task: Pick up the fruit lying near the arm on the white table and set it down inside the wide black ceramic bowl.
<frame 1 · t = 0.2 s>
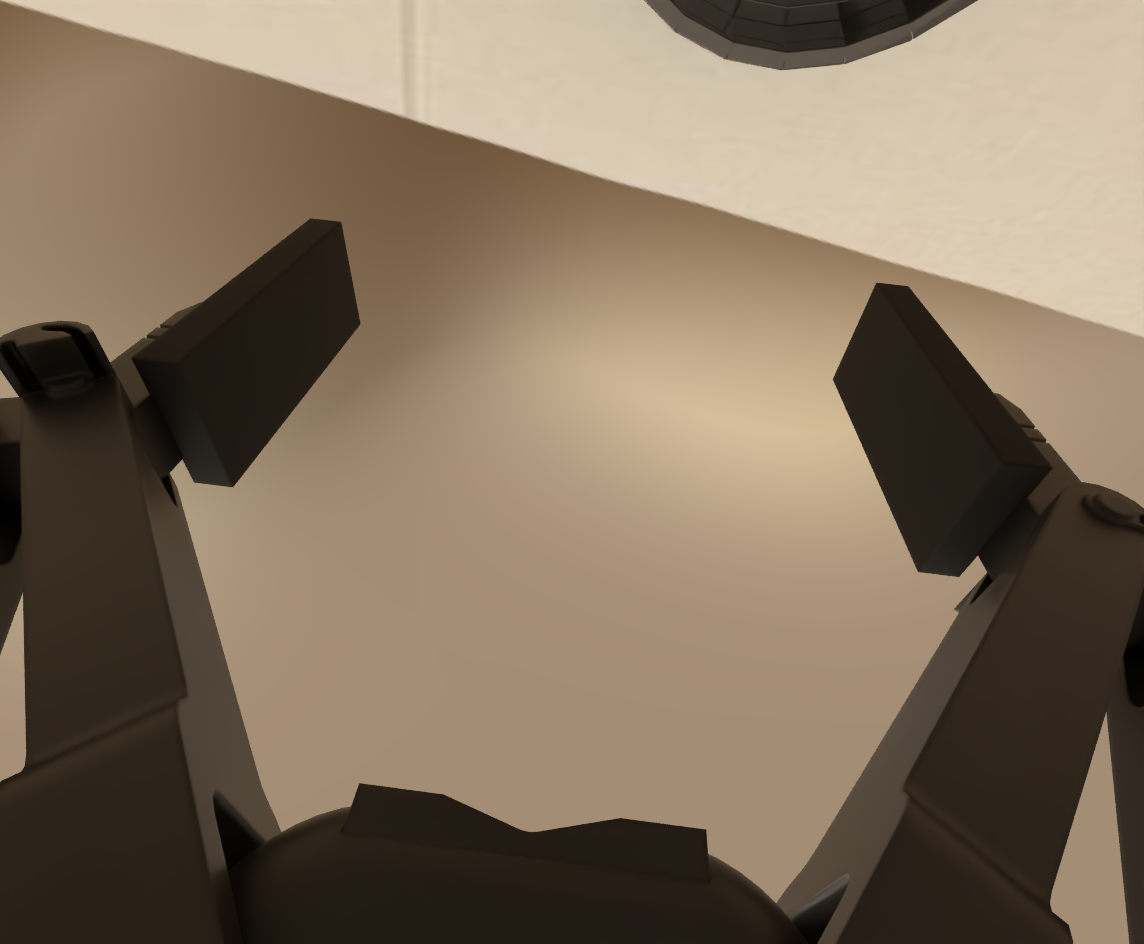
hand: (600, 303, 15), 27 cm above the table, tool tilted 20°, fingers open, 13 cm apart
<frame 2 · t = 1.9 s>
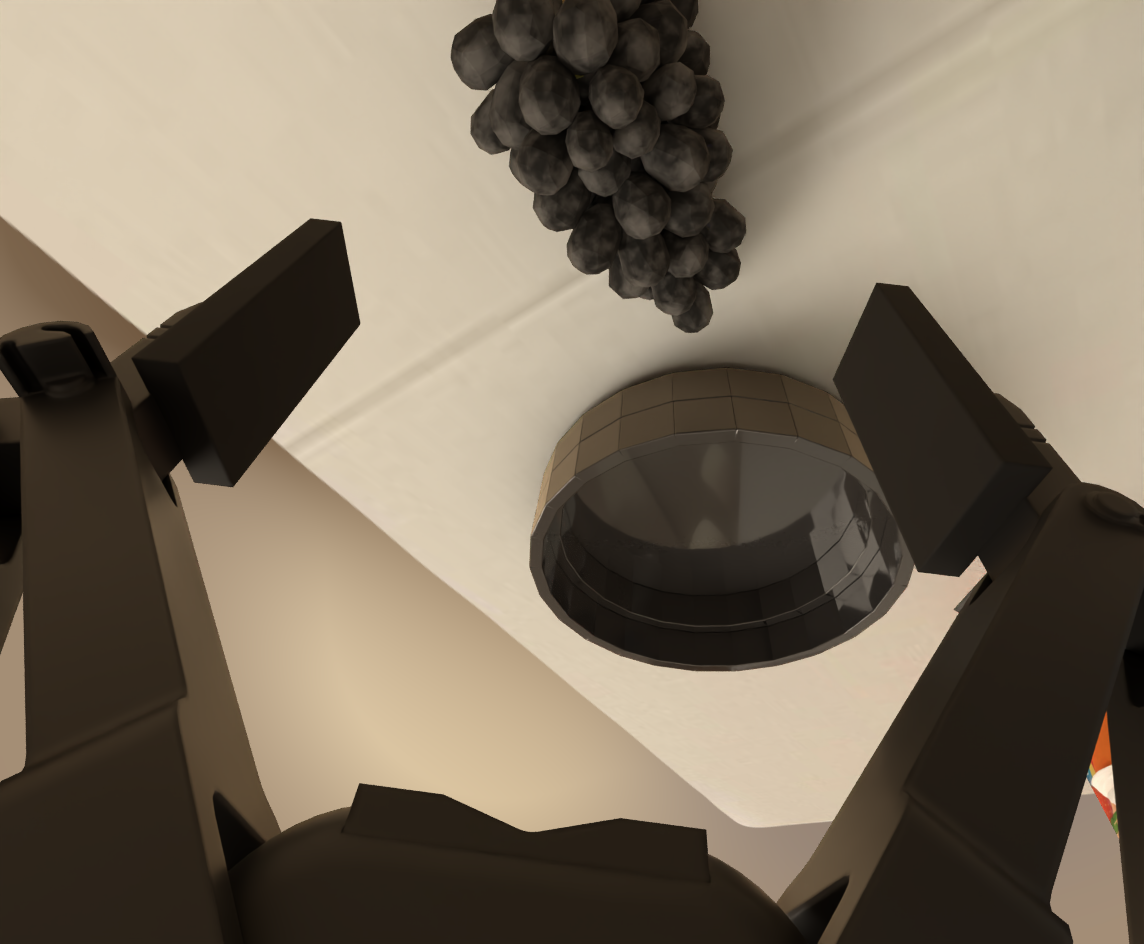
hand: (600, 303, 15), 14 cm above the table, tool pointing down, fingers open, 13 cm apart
bowl: (704, 504, 38), on the table
fruit: (627, 157, 25), on the table
paper cup: (1055, 578, 40), on the table
fruit juice: (1120, 708, 49), on the table
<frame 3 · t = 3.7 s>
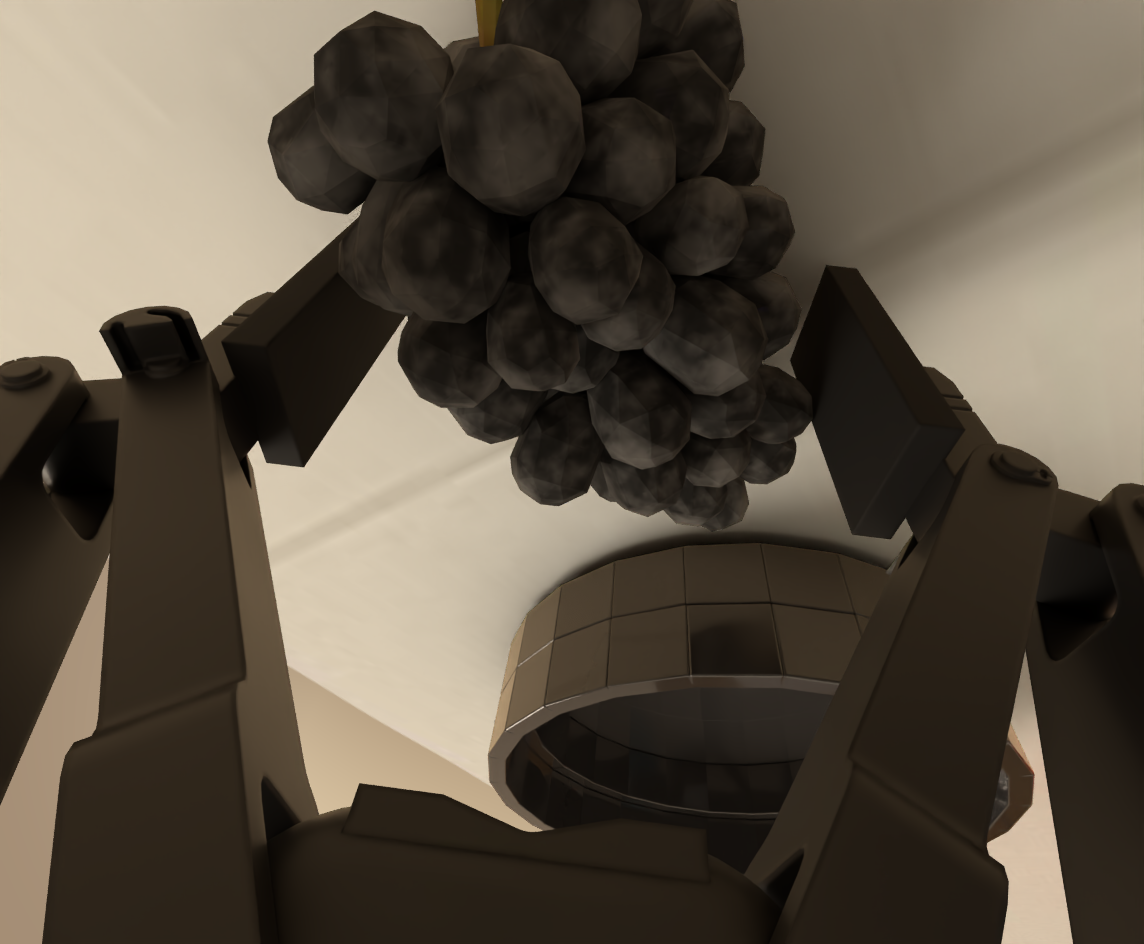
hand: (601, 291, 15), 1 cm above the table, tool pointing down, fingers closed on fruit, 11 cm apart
bowl: (723, 676, 29), on the table
fruit: (618, 274, 16), on the table, touching gripper
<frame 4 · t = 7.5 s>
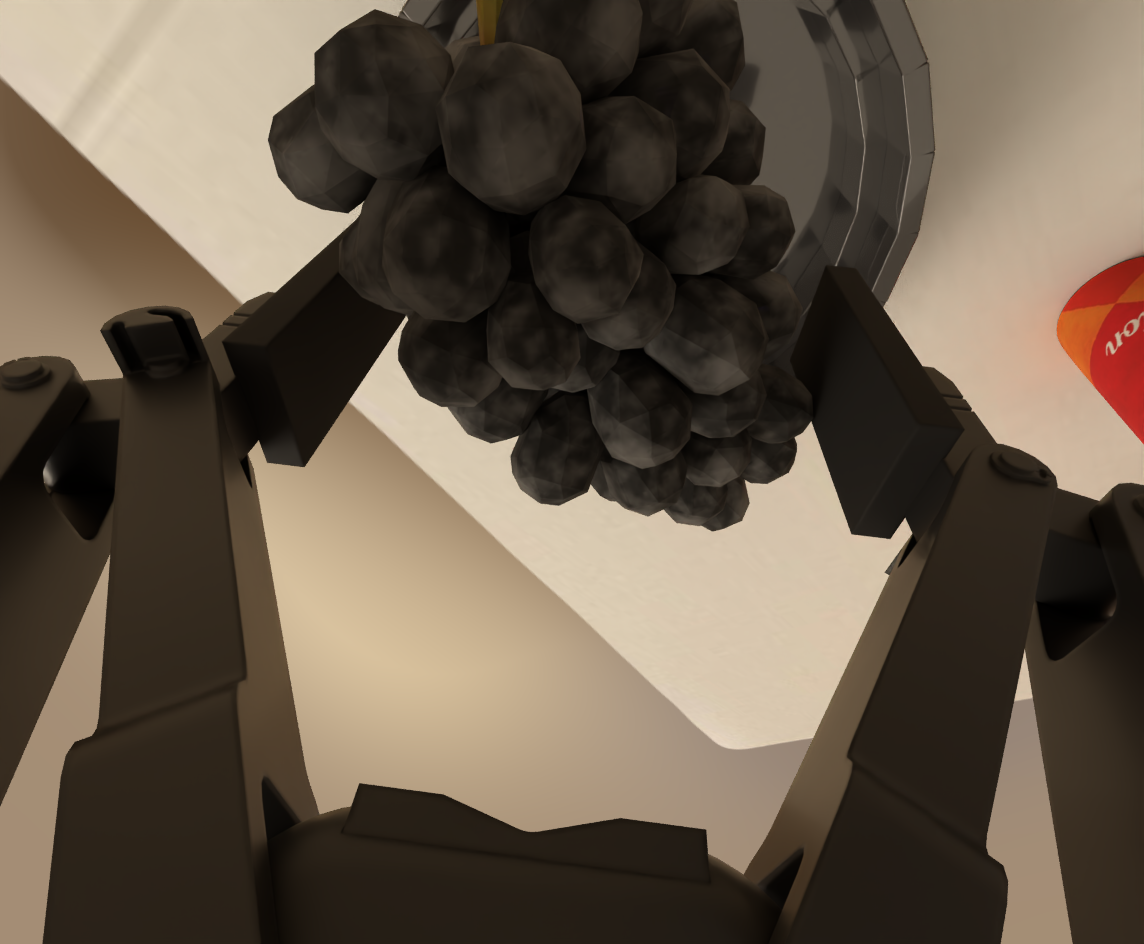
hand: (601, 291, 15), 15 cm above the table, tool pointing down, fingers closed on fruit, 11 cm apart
bowl: (635, 194, 28), on the table
fruit: (619, 273, 16), point 14 cm above the table, touching gripper
paper cup: (1117, 307, 29), on the table
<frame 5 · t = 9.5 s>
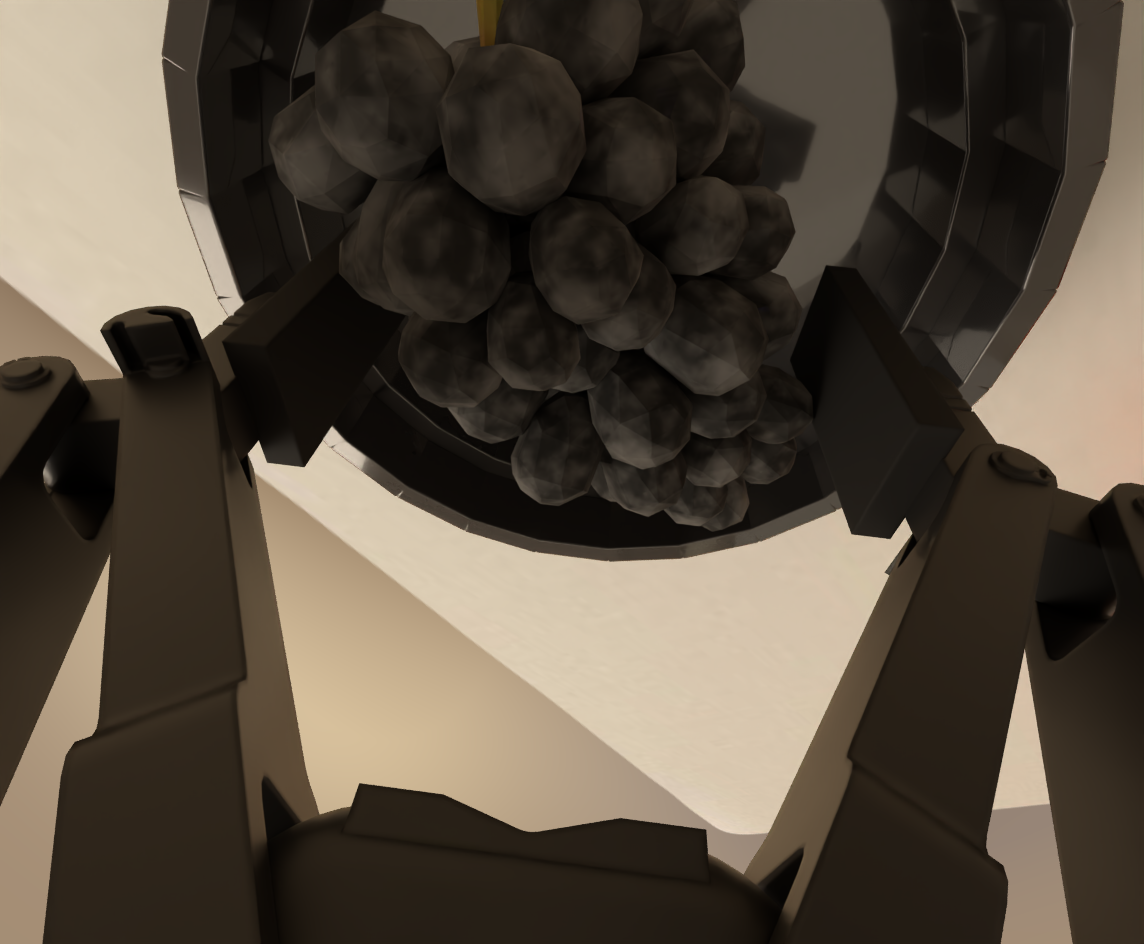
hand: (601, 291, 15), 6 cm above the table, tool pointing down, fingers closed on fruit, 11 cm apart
bowl: (613, 216, 19), on the table
fruit: (619, 274, 16), point 5 cm above the table, touching gripper
when the fingers open (2 cm above the table, at t = 11.2 s): fruit stays where it is, resting on bowl.
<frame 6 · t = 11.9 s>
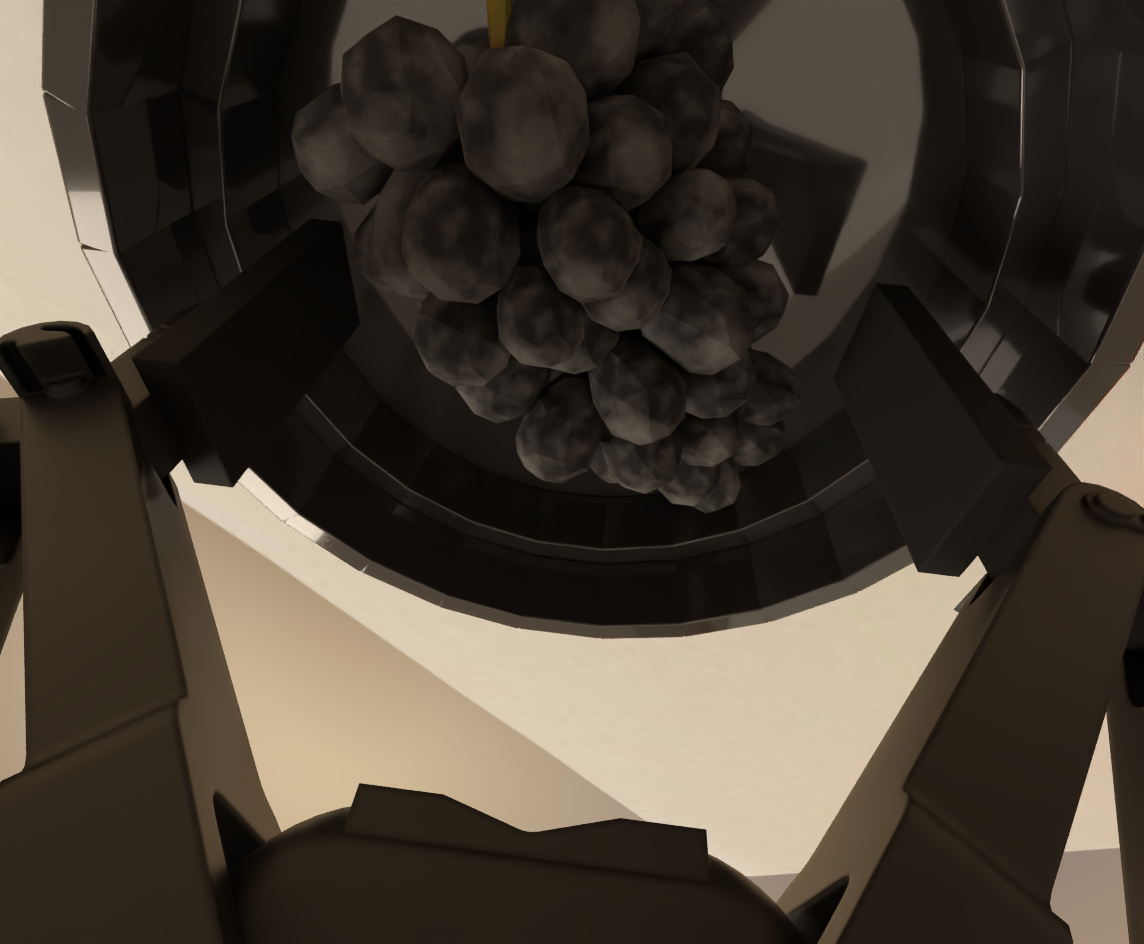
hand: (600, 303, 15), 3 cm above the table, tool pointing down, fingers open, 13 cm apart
bowl: (603, 258, 17), on the table
fruit: (615, 266, 17), resting on bowl
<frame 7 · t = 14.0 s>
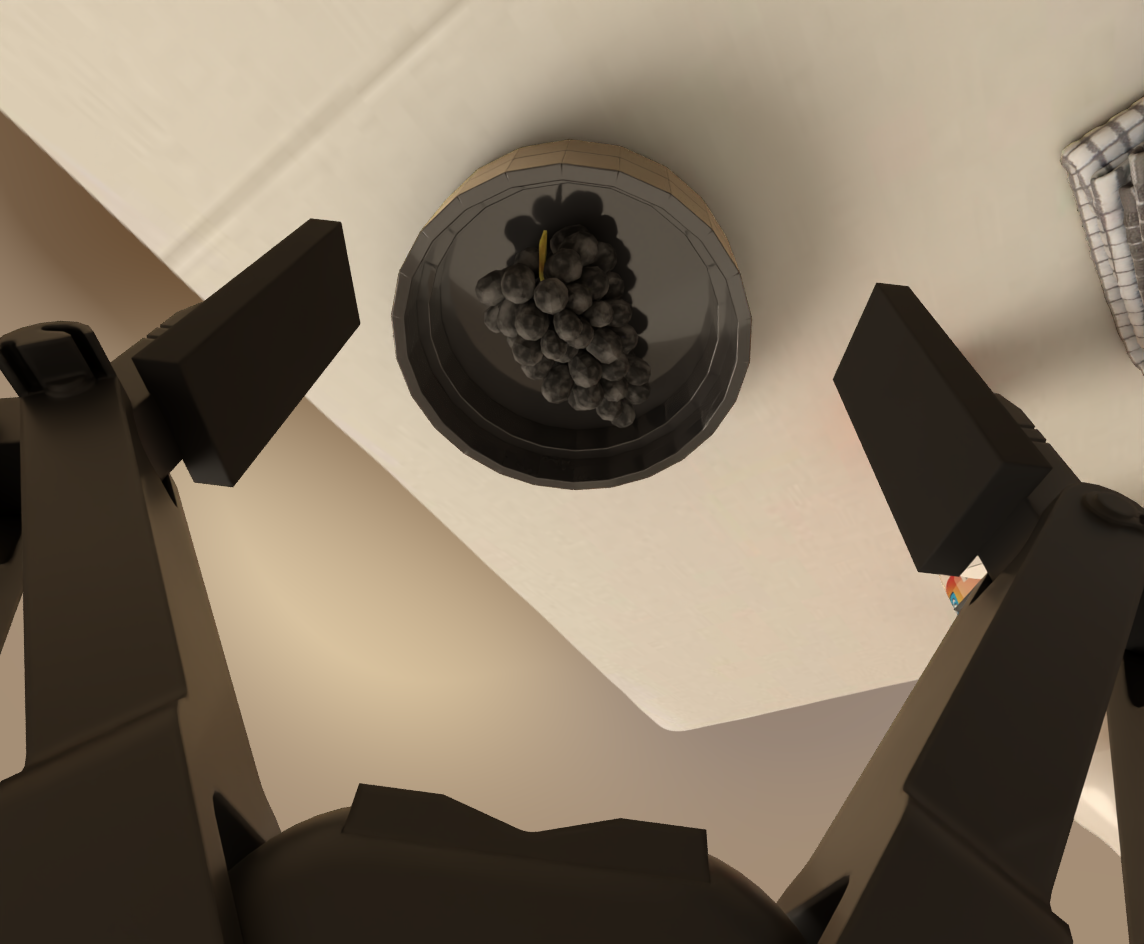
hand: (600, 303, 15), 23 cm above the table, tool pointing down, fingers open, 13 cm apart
bowl: (575, 315, 40), on the table
fruit: (580, 319, 39), resting on bowl
paper cup: (909, 396, 42), on the table
fruit juice: (991, 555, 52), on the table
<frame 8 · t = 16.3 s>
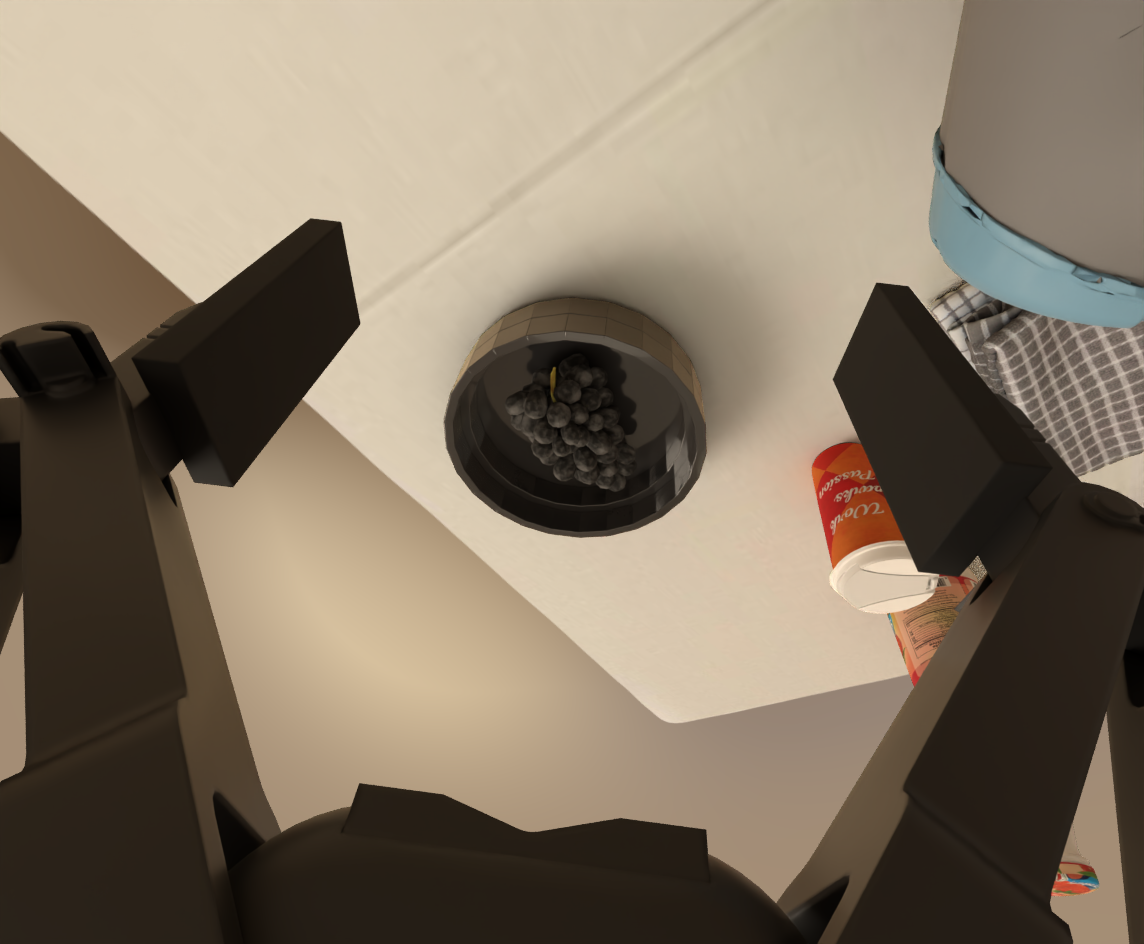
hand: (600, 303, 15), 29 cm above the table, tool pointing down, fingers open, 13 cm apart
bowl: (579, 408, 52), on the table
fruit: (582, 411, 52), resting on bowl
paper cup: (841, 464, 54), on the table
fruit juice: (924, 581, 63), on the table
towel: (1074, 321, 43), on the table
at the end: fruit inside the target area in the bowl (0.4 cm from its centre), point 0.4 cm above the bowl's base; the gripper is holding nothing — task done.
